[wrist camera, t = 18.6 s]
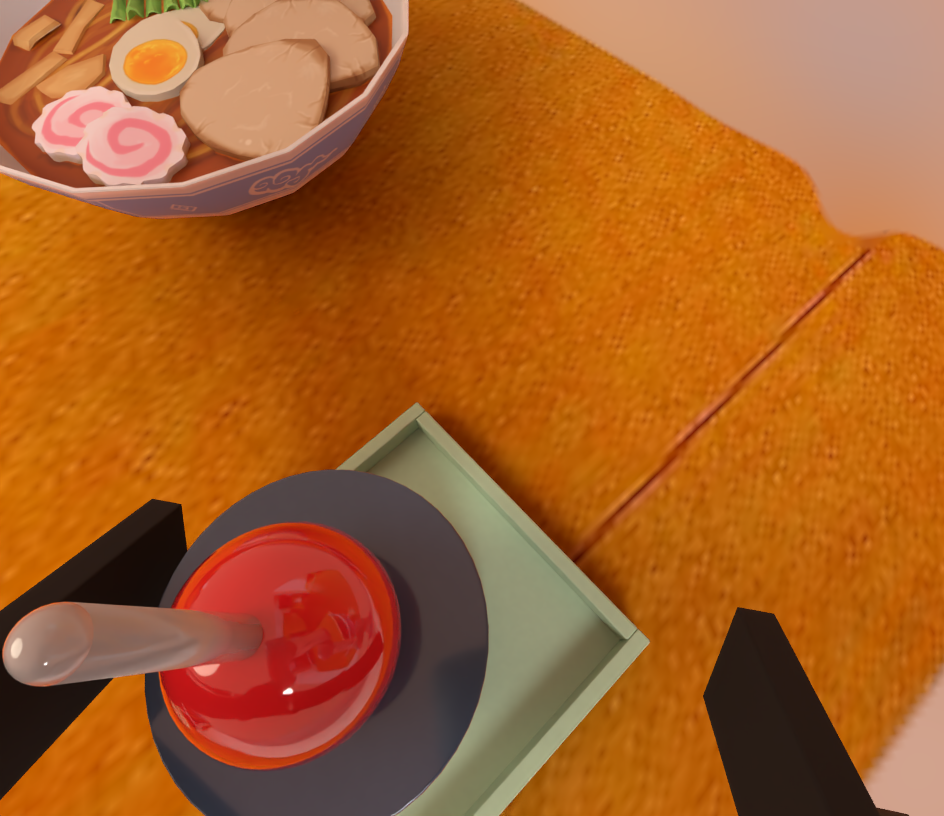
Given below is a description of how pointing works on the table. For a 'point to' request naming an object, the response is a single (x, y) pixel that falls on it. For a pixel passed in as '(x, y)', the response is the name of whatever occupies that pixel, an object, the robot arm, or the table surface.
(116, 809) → the table surface
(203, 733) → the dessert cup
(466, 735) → the serving tray
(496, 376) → the table surface
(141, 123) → the ramen bowl
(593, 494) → the table surface
